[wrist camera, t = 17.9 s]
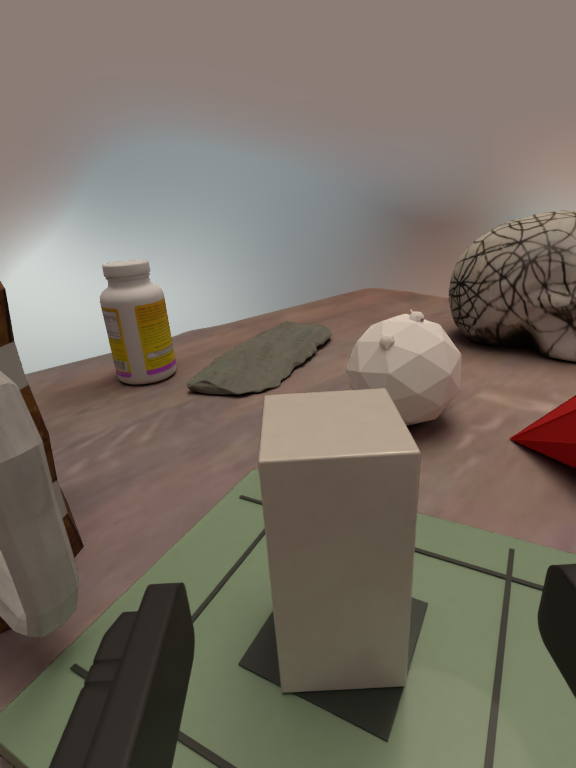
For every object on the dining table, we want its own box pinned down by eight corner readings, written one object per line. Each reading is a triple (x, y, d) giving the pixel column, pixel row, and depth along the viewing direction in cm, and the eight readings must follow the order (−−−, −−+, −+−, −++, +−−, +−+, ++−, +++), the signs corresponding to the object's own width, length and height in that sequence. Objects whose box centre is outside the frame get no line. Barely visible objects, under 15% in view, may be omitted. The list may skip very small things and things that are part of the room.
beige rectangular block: (381, 586, 20) (386, 387, 17) (407, 687, 16) (422, 451, 12) (281, 591, 21) (264, 394, 17) (281, 694, 16) (257, 461, 12)
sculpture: (541, 381, 43) (569, 218, 38) (423, 331, 61) (430, 215, 55) (654, 357, 47) (696, 206, 42) (513, 317, 65) (528, 207, 59)
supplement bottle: (182, 364, 55) (165, 256, 50) (169, 385, 49) (148, 264, 44) (128, 367, 55) (106, 260, 50) (109, 388, 49) (81, 269, 44)
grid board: (601, 580, 22) (607, 560, 21) (700, 1382, 7) (725, 1375, 7) (254, 483, 31) (252, 467, 30) (-7, 748, 16) (-19, 726, 16)
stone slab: (335, 344, 62) (270, 331, 65) (337, 325, 61) (271, 313, 64) (262, 416, 43) (177, 392, 47) (263, 391, 42) (176, 368, 45)
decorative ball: (460, 493, 32) (403, 351, 28) (362, 460, 41) (308, 349, 37) (522, 421, 36) (481, 286, 32) (420, 406, 45) (377, 299, 41)
